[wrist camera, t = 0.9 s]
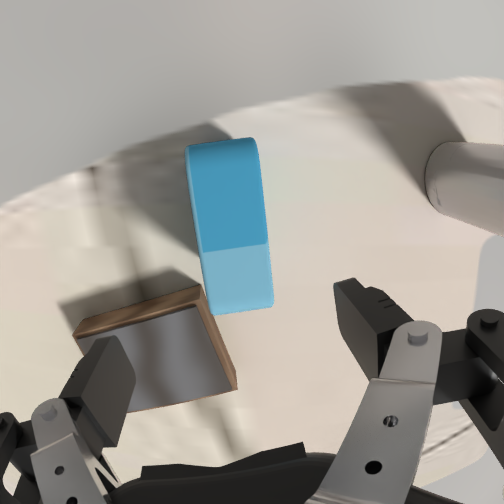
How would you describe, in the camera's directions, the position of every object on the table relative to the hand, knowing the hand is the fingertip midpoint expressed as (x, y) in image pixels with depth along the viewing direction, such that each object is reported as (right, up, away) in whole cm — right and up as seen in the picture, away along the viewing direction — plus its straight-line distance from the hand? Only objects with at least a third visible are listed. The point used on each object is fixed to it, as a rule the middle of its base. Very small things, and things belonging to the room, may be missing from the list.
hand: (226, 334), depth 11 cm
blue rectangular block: (-2, +7, +21) cm, 22 cm away
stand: (-10, -8, +24) cm, 28 cm away
